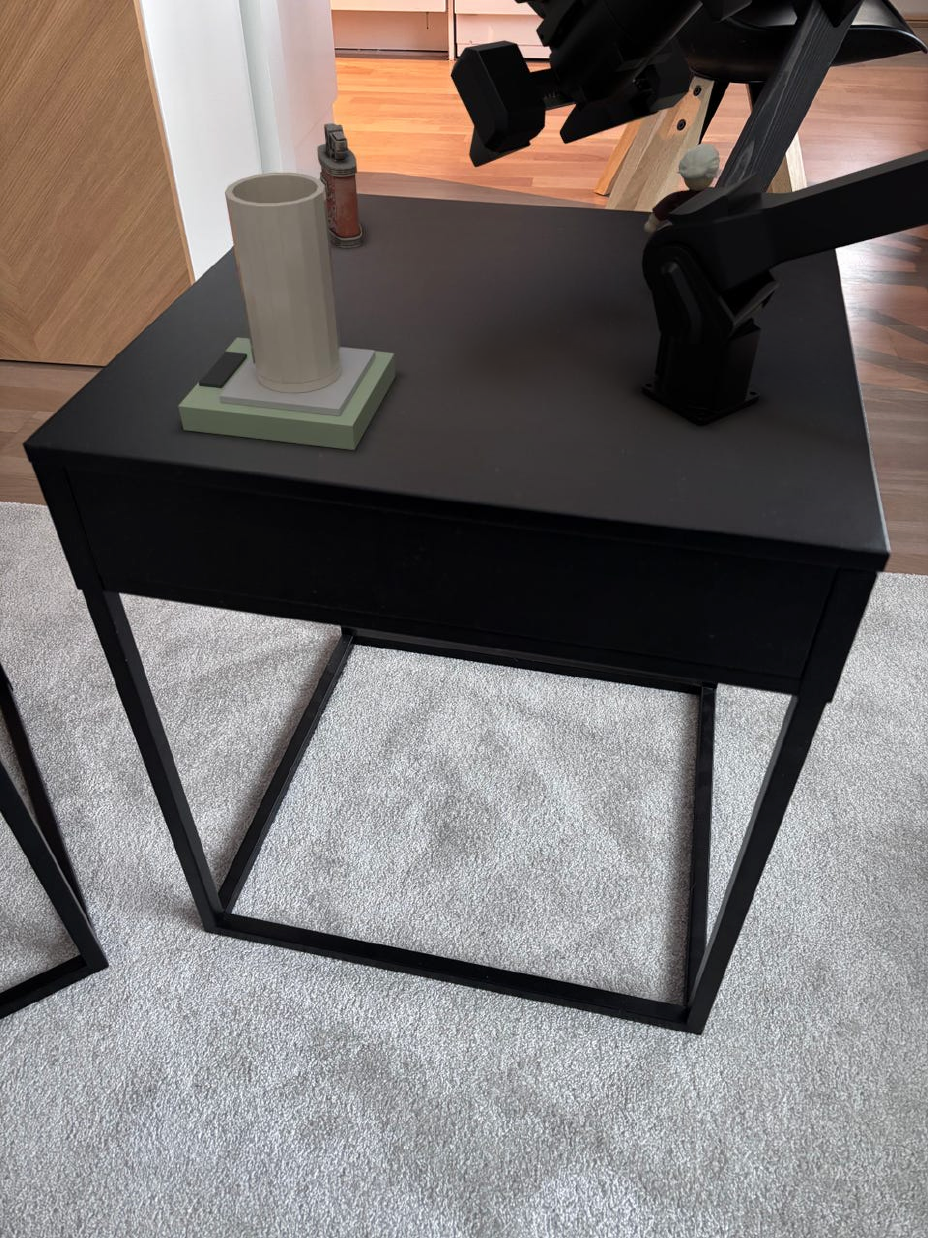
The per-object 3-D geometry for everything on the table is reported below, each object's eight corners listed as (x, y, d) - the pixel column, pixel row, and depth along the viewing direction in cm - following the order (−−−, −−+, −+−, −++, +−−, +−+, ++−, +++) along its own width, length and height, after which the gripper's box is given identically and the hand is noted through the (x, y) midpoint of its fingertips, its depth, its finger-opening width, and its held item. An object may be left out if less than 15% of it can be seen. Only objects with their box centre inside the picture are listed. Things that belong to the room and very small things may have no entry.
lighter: (319, 221, 99) (308, 116, 92) (351, 217, 100) (342, 113, 93) (335, 249, 94) (324, 140, 87) (368, 245, 94) (360, 137, 88)
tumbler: (328, 346, 73) (309, 167, 64) (352, 383, 68) (336, 197, 60) (247, 361, 71) (216, 179, 62) (267, 400, 67) (237, 210, 58)
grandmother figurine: (719, 287, 87) (747, 138, 78) (724, 305, 84) (753, 152, 75) (635, 284, 87) (653, 136, 79) (637, 302, 84) (656, 150, 76)
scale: (395, 376, 74) (393, 345, 73) (354, 450, 66) (351, 417, 65) (241, 360, 76) (235, 329, 75) (183, 430, 69) (176, 398, 67)
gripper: (686, -128, 63) (562, 35, 77) (468, -108, 55) (373, 70, 68) (755, 28, 64) (621, 161, 78) (551, 71, 55) (441, 212, 69)
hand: (519, 149), depth 73 cm, fingers open, 9 cm apart
